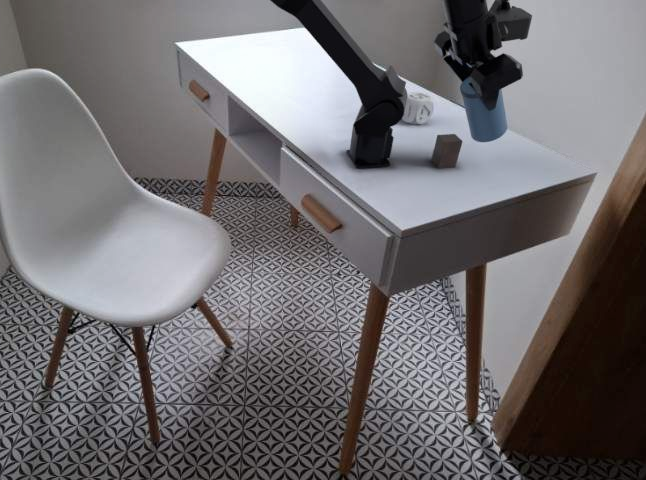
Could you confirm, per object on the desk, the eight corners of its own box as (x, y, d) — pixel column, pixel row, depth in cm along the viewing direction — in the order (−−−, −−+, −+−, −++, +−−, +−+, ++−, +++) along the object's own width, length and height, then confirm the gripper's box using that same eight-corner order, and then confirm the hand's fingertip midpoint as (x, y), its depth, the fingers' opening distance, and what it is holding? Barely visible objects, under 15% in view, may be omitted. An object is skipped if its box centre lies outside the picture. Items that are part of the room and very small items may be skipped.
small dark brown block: (438, 168, 92) (445, 142, 88) (431, 160, 94) (437, 134, 91) (455, 167, 92) (462, 141, 89) (447, 159, 94) (454, 133, 91)
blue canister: (446, 138, 87) (485, 73, 80) (432, 121, 91) (468, 58, 84) (499, 152, 90) (540, 92, 83) (483, 135, 95) (521, 76, 88)
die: (431, 122, 108) (436, 98, 104) (413, 126, 105) (418, 102, 102) (414, 113, 111) (419, 90, 108) (397, 118, 109) (401, 94, 105)
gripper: (555, 4, 68) (562, 102, 78) (490, -33, 81) (503, 55, 91) (473, 47, 70) (491, 137, 80) (423, 4, 83) (444, 86, 94)
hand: (483, 101), depth 86 cm, fingers closed on blue canister, 6 cm apart
